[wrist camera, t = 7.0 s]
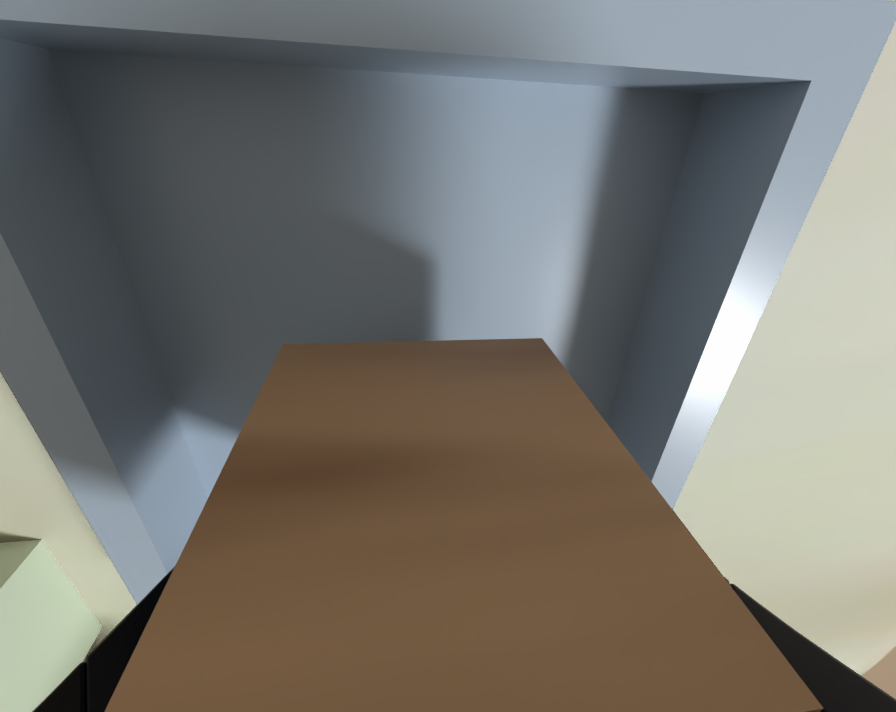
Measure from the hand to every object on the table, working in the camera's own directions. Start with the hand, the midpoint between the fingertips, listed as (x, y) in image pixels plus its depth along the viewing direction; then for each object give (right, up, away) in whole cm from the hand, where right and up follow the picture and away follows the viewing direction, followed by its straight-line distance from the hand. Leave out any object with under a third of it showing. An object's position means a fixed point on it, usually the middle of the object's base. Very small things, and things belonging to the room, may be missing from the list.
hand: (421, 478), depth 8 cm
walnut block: (0, +1, +1) cm, 1 cm away
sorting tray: (-1, +2, +3) cm, 4 cm away
